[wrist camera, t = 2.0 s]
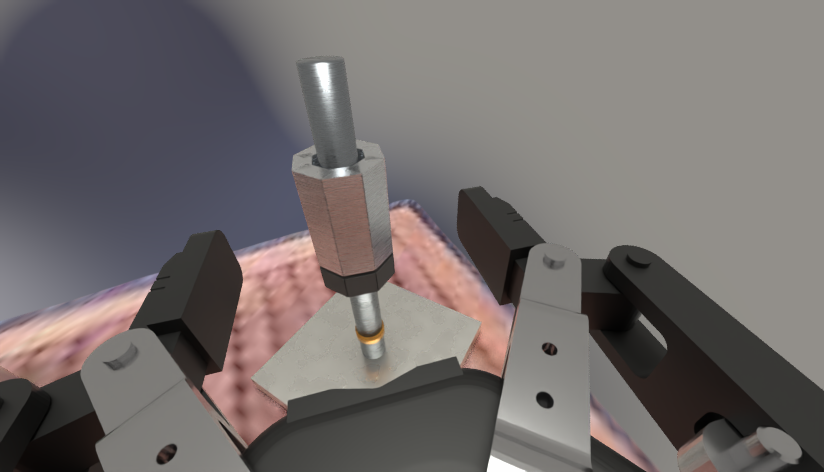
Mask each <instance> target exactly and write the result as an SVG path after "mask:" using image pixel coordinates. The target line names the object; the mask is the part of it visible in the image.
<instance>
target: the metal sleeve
mask: <svg viewBox="0 0 824 472" xmlns="http://www.w3.org/2000/svg"><path fill="white" fill-rule="evenodd" d="M356 145H357V152H358V159H359V162H358V163H356V164H354V165H353V166H351V167H344V168H336V169H329V170H328V169H325V168H321V167H320V166H319V162H318V158H317V153H316V149H315V145H313V146H311V147H309V148H307V149H305V150H303V151H301V152H299V153H297V154H295V155H294V156H293V163H292V173H293V176H294V180H295V183H296V187H297V190H298V193H299V197H300V200H301V204H302V207H303V211H304V214H305V218H306V221H307V225H308V228H309V232H310V235H311V238H312V242H313V245H314V249H315V252H316V256H317V259H318V263H319V265H320V266H321V267H323V268H325V269H328V270H330V271H332V272H334V273H336V274H339V275H341V276H349V275H354V274H359V273H364V272H369V271H374V270H376V269H377V268H378V267H379V266H380V265H381V264H382V263H383V262H384V261H385V260H386V259H387V258H388V256H389V255H390V254H391V253H392V252H393V247H392V236H391V225H390V214H389V202H388V191H387V180H386V169H385V158H384V156H383V154H382V151H381V149H380V147H379V145H378V144H374V143H369V142H364V141H360V140H356Z"/></svg>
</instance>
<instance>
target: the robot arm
mask: <svg viewBox="0 0 824 472" xmlns="http://www.w3.org/2000/svg"><path fill="white" fill-rule="evenodd" d="M458 197H459V198H458V214H457V231H458V236H459V239H460V241H461V243H462V244H463V246H464V247H465V249H466V251H467V252H468V254H469V256H470V257H471V259H472V261H473V262H474V264H475V265H476V267H477V269H478V270H479V272H480V274H481V275H482V277H483V279H484V280H485V282H486V283H487V285H488V287H489V288H490V290H491V292H492V293H493V295H494V297H495V298H496V300H497V301H498V303H499V305H504V304H508V303H513V305H514V306H515V313H514V317H513V322H512V327H511V331H510V336H509V341H508V346H507V351H506V355H505V360H504V365H503V369H502V373H501V378H500V377H498V376H496V375H494V374H491V373H488V372H485V371H481V370H477V369H470V368H461V367H460V364H459V362H458V359H457V357H456V356H454V357H451V358H447V359H443V360H439V361H436V362H432V363H428V364H424V365H420V366H417V367H415V368H413V369H412V370H410V371H408V372H406V373H404V374H403V375H401V376H399V377H397V378H395V379H394V380H392V381H390V382H388V383H386V384H385V385H383V386H381V387H378V388H360V389H329V390H326V391H322V392H318V393H314V394H310V395H307V396H303V397H299V398H295V399H291V400H288V405H287V416H285V417H283V418H281V419H280V420H278V421H277V422H275V423H274V424H272V425H271V426H270V427H269V428H267V429H266V430H265V431H264V432H262V433H261V434H260V435H259V436H258V437H257V438H256V439H255V440H254V441H253V442H252V443H251V444H250V445H249V446H248V445H247V444H246V443H245V442H244V440H243V439H242V438H241V437H240V436H239V434H238V433H237V432H236V430H235V429H234V428H233V426H232V425H231V424H230V422H229V421H228V420H227V418H226V417H225V416H224V414H223V413H222V412H221V410H220V409H219V408H218V406H217V405H216V404H215V402H214V401H213V400H212V398H211V397H210V396H209V394H208V393H207V392H206V390H205V389H204V388H203V387H202V384H203V381H204V377H205V375H209V374H213V373H217V372H221V371H222V369H223V365H224V361H225V357H226V352H227V348H228V344H229V339H230V335H231V331H232V326H233V322H234V318H235V314H236V309H237V305H238V301H239V296H240V292H241V288H242V283H243V276H242V270H241V267H240V265H239V263H238V261H237V259H236V257H235V255H234V253H233V251H232V249H231V248H230V245H229V243H228V241H227V239H226V237H225V235H224V234H223V233H222V232H221V231H220V230H215V231H209V232H203V233H197V234H192V235H191V236H190V238H189V240H188V242H187V244H186V246H185V248H184V250H183V252H180V253H176V254H175V255H174V256H173V257H172V258H171V259H170V260H169V261H168V262H167V263H166V264H165V265H164V266H163V267H162V269H161V271H160V272H159V274H158V276H157V278H156V279H157V281H155V282H154V284H153V285H152V287H151V289H150V290H151V292H149V293H148V295H147V296H146V298H145V300H144V302H143V304H142V306H141V308H140V309H139V311H138V313H137V315H136V317H135V319H134V321H133V322H132V324H131V326H130V328H129V330H128V331H125V332H122V333H120V334H118V335H116V336H114V337H112V338H110V339H109V340H107V341H105V342H104V343H103V344H101V345H100V346H99V347H98V348H96V349H95V350H94V351H93V352H92V353H91V354H90V355H89V357H88V358H87V359H86V361H85V362H84V364H83V366H82V369H81V370H80V371H77V372H75V373H73V374H71V375H68V376H66V377H64V378H61V379H59V380H57V381H54V382H52V383H50V384H48V385H45V386H43V387H41V388H39V387H38V386H36V385H35V384H33V383H31V382H30V381H28V380H26V379H22V378H19V377H17V376H16V375H14V374H13V373H11V372H10V371H8V370H6V369H5V368H3V367H2V366H0V472H646V471H644V470H643V469H641V468H640V467H638V466H637V465H635V464H634V463H632V462H631V461H629V460H628V459H626V458H625V457H623V456H621V455H620V454H618V453H617V452H615V451H614V450H612V449H611V448H609V447H608V446H606V445H605V444H603V443H602V442H600V441H599V440H597V439H595V438H594V437H592V436H591V435H590V384H589V383H590V381H589V333H590V335H591V336H592V337H593V339H594V340H595V341H596V343H597V344H598V345H599V347H600V348H601V349H602V351H603V352H604V353H605V355H606V356H607V357H608V359H609V360H610V361H611V363H612V364H613V365H614V367H615V368H616V369H617V371H618V372H619V373H620V375H621V376H622V377H623V379H624V380H625V381H626V383H627V384H628V385H629V387H630V388H631V389H632V391H633V392H634V393H635V395H636V396H637V397H638V399H639V400H640V401H641V403H642V404H643V405H644V407H645V408H646V409H647V411H648V412H649V414H650V415H651V416H652V418H653V419H654V420H655V421H656V423H657V424H658V426H659V427H660V428H661V430H662V431H663V432H664V434H665V435H666V436H667V437H668V439H669V440H670V442H671V443H672V444H673V446H674V447H675V448H676V450H677V451H678V454H677V455H678V456H677V461H678V467H679V470H680V472H824V391H823V390H822V389H821V388H819V387H818V386H817V385H816V384H815V383H814V382H812V381H811V380H810V379H808V378H807V377H806V376H805V375H804V374H802V373H801V372H800V371H799V370H797V369H796V368H795V367H794V366H793V365H791V364H790V363H789V362H788V361H786V360H785V359H784V358H783V357H782V356H780V355H779V354H778V353H777V352H775V351H774V350H773V349H772V348H770V347H769V346H768V345H767V344H765V343H764V342H763V341H762V340H761V339H759V338H758V337H757V336H756V335H754V334H753V333H752V332H751V331H750V330H748V329H747V328H746V327H745V326H744V325H742V324H741V323H740V322H739V321H737V320H736V319H735V318H733V317H732V316H731V315H730V314H729V313H728V312H726V311H725V310H724V309H723V308H721V307H720V306H719V305H718V304H716V303H715V302H714V301H713V300H712V299H710V298H709V297H708V296H707V295H705V294H704V293H703V292H702V291H700V290H699V289H698V288H697V287H696V286H694V285H693V284H692V283H691V282H689V281H688V280H687V279H686V278H685V277H683V276H682V275H681V274H679V273H678V272H677V271H676V270H675V269H673V268H672V267H671V266H670V265H669V264H667V263H666V262H665V261H664V260H662V259H661V258H660V257H659V256H657V255H656V254H654V253H652V252H650V251H648V250H646V249H643V248H640V247H636V246H628V245H622V246H617V247H615V248H613V249H612V250H611V251H610V253H609V255H608V257H607V259H606V260H605V259H580V258H579V257H578V255H577V254H576V253H574V252H573V251H572V250H570V249H569V248H567V247H564V246H562V245H558V244H553V243H546V242H545V241H544V240H543V239H542V238H541V237H540V236H539V235H538V234H537V233H536V231H534V229H533V228H532V227H531V226H530V225H529V224H528V223H527V222H526V221H525V220H523V218H522V217H521V216H520V215H519V214H517V212H516V211H515V209H514V208H512V206H511V205H510V204H509V203H507V202H505V201H503V200H501V199H499V198H497V197H495V198H492V197H491V196H490V195H489V194H488V193H487V192H486V190H484V188H483V187H481V186H479V187H473V188H468V189H462V190H460V192H459V196H458ZM641 314H643V315H644V316H645V317H646V318H647V320H649V322H650V323H651V324H652V325H653V326H654V327H655V328H656V329H657V330H658V331H659V332H660V333H661V334H662V335H663V337H664V339H665V341H666V343H667V350H666V349H665V348H664V347H663V345H662V344H661V343H660V342H659V341H658V340H657V339H656V338H655V337H654V336H653V335H652V334H651V333H650V332H649V330H648V329H647V328H646V327H645V326H644V325H643V324H642V323H641V322H640V321H639V320H638V319H639V317H640V316H641Z"/></svg>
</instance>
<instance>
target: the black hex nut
mask: <svg viewBox="0 0 824 472" xmlns="http://www.w3.org/2000/svg"><path fill="white" fill-rule="evenodd" d="M320 270H321V273H322V276H323V280H324V283H325V286H326V287H327V288H329V289H331V290H333V291H335V292H337V293H340V294H342V295H344V296H346V297H354V296H359V295H364V294H368V293H373V292H378V291H379V290H380V289H381V288H382V287H383V286H384V284H385V283H386V282H387V281H388V280H389V279H390V278H391V276H392V275H393V274H394V273H395V269H394V258H393V252H392V253H391V254H390V255H389V256H388V258H387V259H386V260H385V261H384V262H383V263H382V264H381V265H380V266H379V267H378V268H377V269H376V270H374V271H369V272H364V273H359V274H354V275H349V276H341V275H339V274H336V273H334V272H332V271H330V270H328V269H325V268H323V267H321V266H320Z"/></svg>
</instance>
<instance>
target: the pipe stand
mask: <svg viewBox="0 0 824 472" xmlns="http://www.w3.org/2000/svg"><path fill="white" fill-rule="evenodd" d="M296 66H297V70H298V74H299V79H300V83H301V88H302V92H303V96H304V101H305V105H306V109H307V114H308V118H309V123H310V127H311V131H312V136H313V140H314V144H315V149H316V153H317V158H318V162H319V166H320V167H321V168H325V169H328V170H329V169H336V168H344V167H351V166H353V165H354V164H356V163H358V162H359V159H358V152H357V145H356V138H355V132H354V125H353V118H352V111H351V104H350V97H349V90H348V83H347V76H346V69H345V62H344V58H343V57H338V56H319V57H310V58H304V59H300V60H298V61H296ZM481 323H482V322H480V321H478V320H475V319H473V318H471V317H468V316H466V315H464V314H461V313H459V312H457V311H454V310H452V309H450V308H447V307H445V306H443V305H440V304H438V303H436V302H433V301H431V300H429V299H426V298H424V297H422V296H419V295H417V294H415V293H412V292H410V291H408V290H405V289H403V288H401V287H398V286H396V285H394V284H391V283H389V282H386V283H385V284H384V286H383V287H382V288H381V289H380V290H379V291H378V292H373V293H368V294H364V295H359V296H354V297H346V296H344V295H342V294H340V293H336V294H335V295H334V296H333V297H332V298H331V299H330V300H329V301H328V302H327V303H326V304H325V305H324V306H323V307H322V308H321V309H320V310H319V311H318V312H317V313H316V314H315V315H314V316H313V317H312V318H311V319H310V320H309V321H308V322H307V323H306V324H305V325H304V326H303V327H302V328H301V329H300V330H299V331H298V332H297V333H296V334H295V335H294V336H293V337H292V338H291V339H290V340H289V341H288V342H287V343H286V344H285V345H284V346H283V347H282V348H281V349H280V350H279V351H278V352H277V353H276V354H275V355H274V356H273V357H272V358H271V359H270V360H269V361H268V362H267V363H266V364H265V365H264V366H263V367H262V368H261V369H260V370H259V371H258V372H257V373H256V374H255V375H254V376H252V377H251V380H252V381H253V382H254V384H255V385H256V387H257V388H258V389H259V390H261V391H262V392H263V393H265V394H266V395H267V396H269V397H270V398H271V399H273V400H274V401H275V402H277V403H278V404H279V405H281V406H282V407H283V408H285V409H286V410H287V405H288V400H291V399H295V398H299V397H303V396H307V395H310V394H314V393H318V392H322V391H326V390H329V389H360V388H378V387H381V386H383V385H385V384H386V383H388V382H390V381H392V380H394V379H395V378H397V377H399V376H401V375H403V374H404V373H406V372H408V371H410V370H412V369H413V368H415V367H417V366H420V365H424V364H428V363H432V362H436V361H439V360H443V359H447V358H451V357H454V356H456V357H457V359H458V362H459V364H460V367H461V368H463V366H464V364H465V362H466V360H467V358H468V356H469V354H470V352H471V350H472V348H473V346H474V344H475V342H476V340H477V337H478V335H479V333H480V329H481Z"/></svg>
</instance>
